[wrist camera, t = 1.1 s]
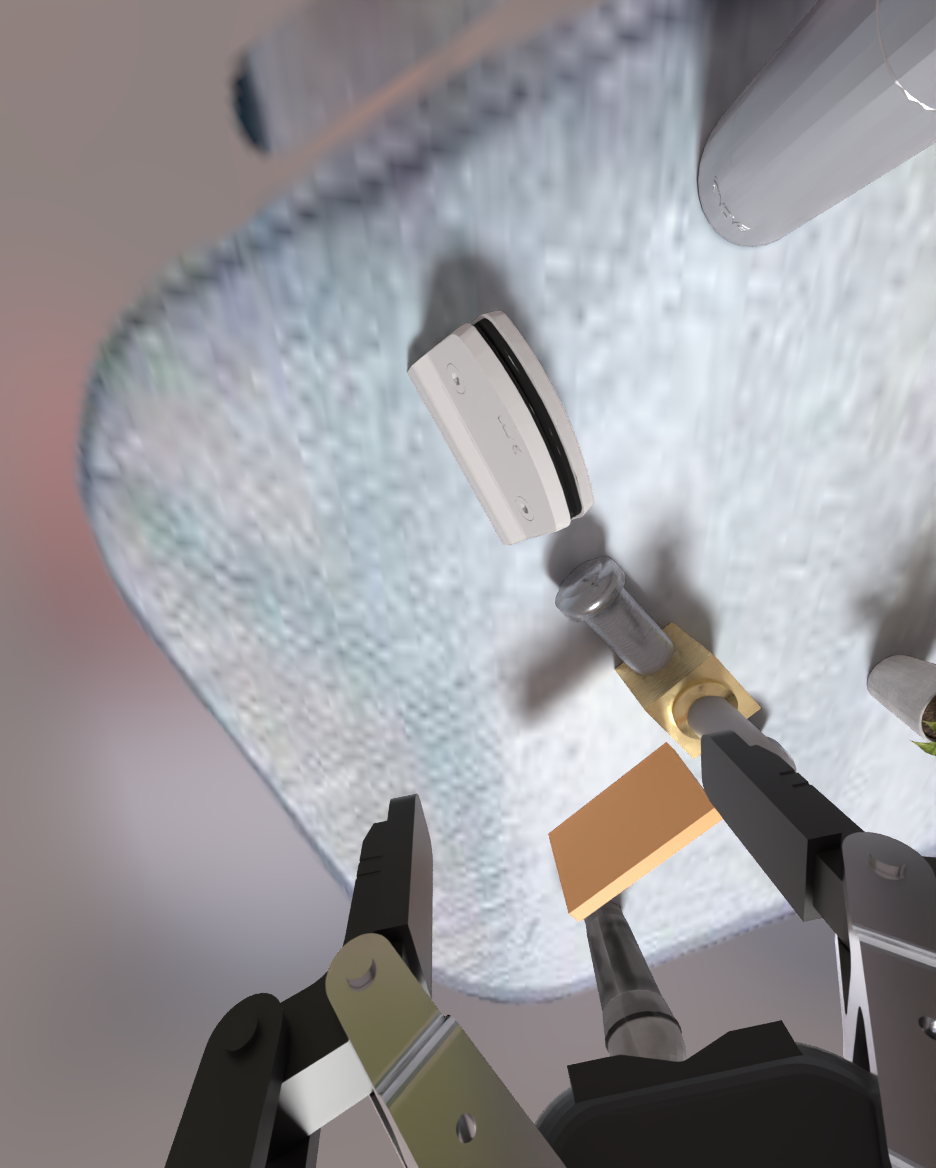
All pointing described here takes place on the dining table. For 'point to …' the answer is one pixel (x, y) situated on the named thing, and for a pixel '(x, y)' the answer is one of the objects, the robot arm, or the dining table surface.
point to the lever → (642, 816)
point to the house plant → (908, 694)
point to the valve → (650, 652)
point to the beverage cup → (629, 992)
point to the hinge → (505, 428)
